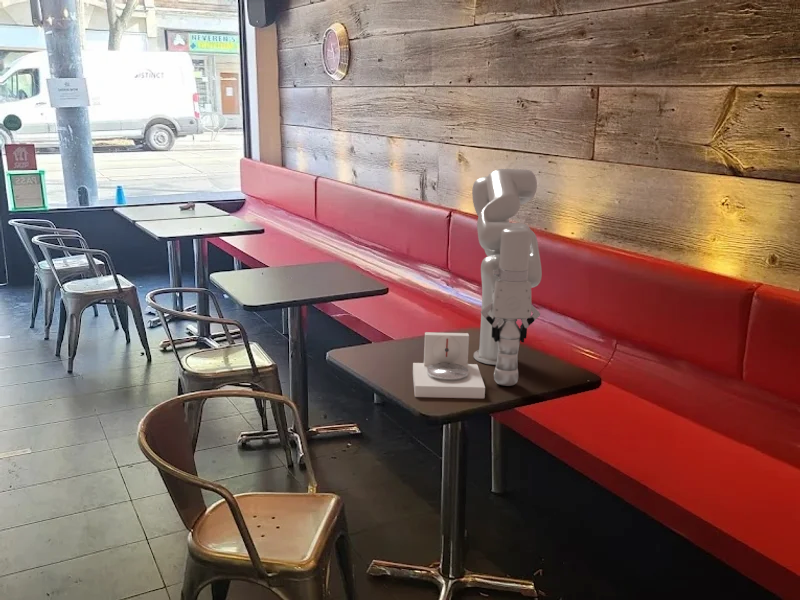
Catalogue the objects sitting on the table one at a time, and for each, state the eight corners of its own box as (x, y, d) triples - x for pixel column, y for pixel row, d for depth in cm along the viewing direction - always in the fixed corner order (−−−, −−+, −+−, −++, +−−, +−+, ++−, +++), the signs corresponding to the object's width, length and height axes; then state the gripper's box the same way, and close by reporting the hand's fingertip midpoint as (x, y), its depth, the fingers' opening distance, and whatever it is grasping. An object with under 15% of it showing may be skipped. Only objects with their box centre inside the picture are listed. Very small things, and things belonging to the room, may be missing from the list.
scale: (412, 372, 211) (414, 332, 208) (476, 374, 211) (478, 333, 208) (414, 396, 193) (416, 352, 190) (484, 398, 193) (487, 354, 190)
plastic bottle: (501, 378, 208) (505, 308, 203) (522, 384, 204) (527, 313, 199) (488, 384, 203) (492, 313, 198) (510, 390, 199) (514, 318, 194)
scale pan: (426, 365, 206) (426, 362, 206) (466, 366, 207) (466, 363, 206) (428, 379, 196) (428, 376, 195) (470, 380, 196) (470, 377, 196)
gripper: (481, 277, 192) (477, 344, 197) (549, 279, 192) (543, 345, 197) (478, 271, 199) (474, 335, 204) (543, 272, 200) (538, 337, 204)
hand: (508, 339), depth 200 cm, fingers closed on plastic bottle, 6 cm apart
